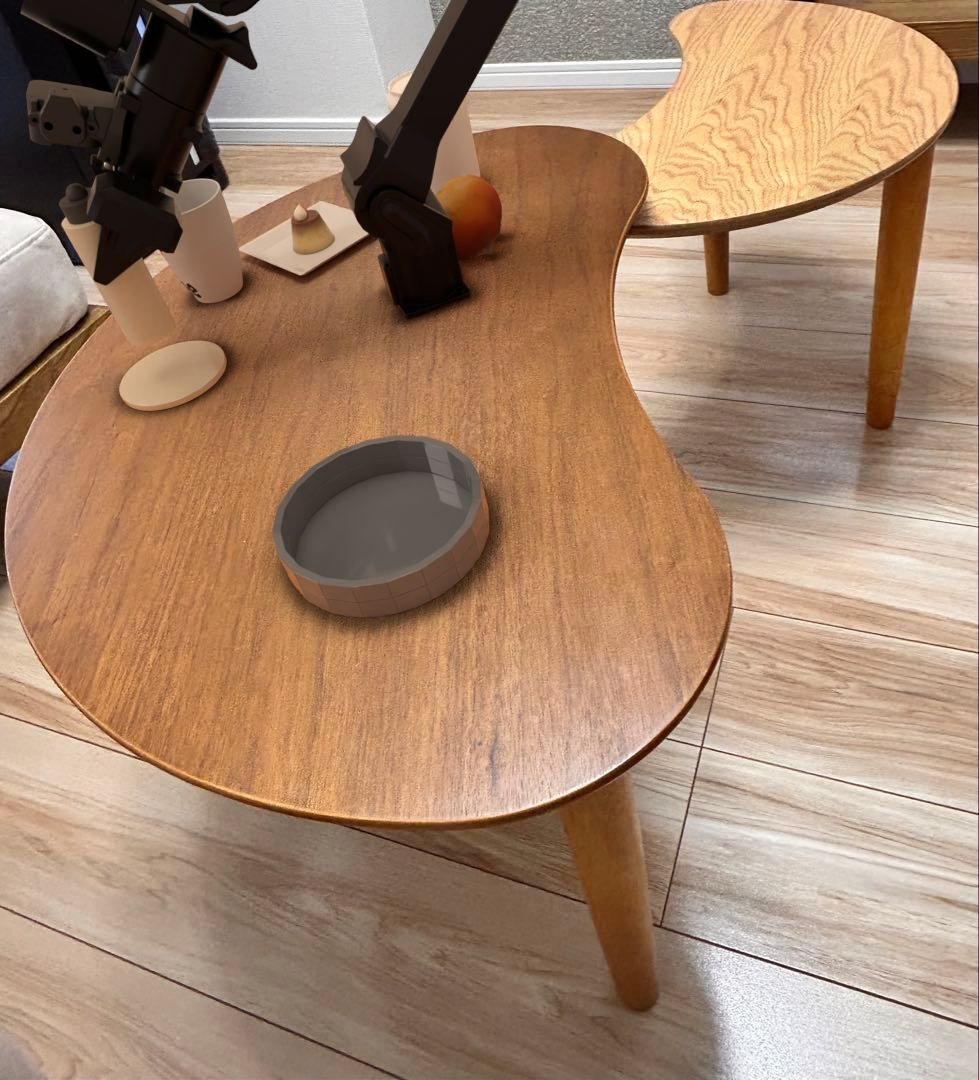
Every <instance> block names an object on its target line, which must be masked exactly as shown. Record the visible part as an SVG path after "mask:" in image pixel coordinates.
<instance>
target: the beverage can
mask: <svg viewBox="0 0 979 1080" xmlns="http://www.w3.org/2000/svg"><path fill="white" fill-rule="evenodd" d="M414 70H415V69H412V70H409V71H406V72H404V73H402V74H400V75H398V76H396V77H394V78H392V79H391V81H390V82H389V83H388V85H387V89H388V94H387V98H386V105H387V108H388V112H389V113H390V112H391V111H392V110H393V109H394V107H395V106H396V104H397V102H398V101H399V99H400V97H401V95H402V93H403V91H404V89H405V87H406V85H407V83H408V81H409V80H410V78H411V76H412V74H413V72H414ZM389 113H388V114H389ZM480 171H481V170H480V167H479V161H478V157H477V150H476V145H475V139H474V135H473V129H472V125H471V119H470V113H469V108H468V102H467V98H466V96H465V98H464V100H463V102H462V104H461V105H460V107H459V109H458V111H457V113H456V114H455V116H454V118H453V120H452V122H451V123H450V125H449V127H448V129H447V131H446V132H445V134H444V136H443V138H442V140H441V142H440V144H439V147H438V152H437V157H436V163H435V168H434V173H433V179H432V184H431V187H430V188H431V190H432V191H433V193H434V194H436V193H437V192H438V191H439V190H440V189H441V188H442V187H443V185H445V184H446V183H448V182H449V181H450V180H452V179H454V178H457V177H459V176H466V175H475V176H478V177H481V172H480ZM481 178H482V177H481Z"/></svg>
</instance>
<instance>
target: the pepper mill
mask: <svg viewBox="0 0 979 1080" xmlns="http://www.w3.org/2000/svg"><path fill="white" fill-rule="evenodd" d="M91 189H92V186H90V187H85V186H84V185H82V183H81V184H80V183H77V182H75V183H74V182H73V183H70V184H69V185H68V186H67V187H66V189H65V196H63V197H62V198H61V199H60V200H59V202H58V206H59V208H60V209H61V211H62V213H63V215H64V219H62V221H61V228H62V229H63V231H64V232H65V234H66V236H67V238H68V239H69V241H70V243H71V245H72V246H73V248H74V250H75V252H76V254H77V255H78V257H79V258H80V260H81V262H82V264H83V266H84V268H85V269H86V270H87V272H88V275H89V276H90V278H91V280H92V281H93V283H94V285H95V287H96V288H97V291H98V292H99V294H100V295H101V297H102V299H103V300H104V303H105V304H106V306H107V307H108V309H109V311H110V313H111V314H112V316H113V318H114V320H115V321H116V323H117V325H118V327H119V328H120V330H121V331H122V334H123V336H124V337H125V339H126V341H127V342H128V344H129V345H130V346H133V347H137V348H138V347H139V348H140V347H148V346H152V345H155V344H157V343H159V342H161V341H163V340H165V339H166V338H167V337H169V336H171V334H172V333H173V332H174V331H175V329H176V327H177V323H176V320H175V318H174V317H173V315H172V313H171V311H170V309H169V307H168V305H167V303H166V301H165V299H164V297H163V296H162V292H161V291H160V289H159V288H158V286H157V283H156V282H155V279H154V278H153V276H152V274H151V272H150V270H149V268H148V266H147V265H146V262H145V260H144V259H143V258H144V257H142V258H141V259H139V260H138V261H137V262H136V263H134V264H133V265H132V266H131V267H129V268H128V269H127V270H126V271H124V272H123V273H122V274H121V275H119V276H118V277H117V278H116V279H115V280H113V281H112V282H111V283H110V284H108V285H106V286H105V285H102V284H99V283H97V282H95V281H94V280H93V275H94V268H95V261H96V254H97V247H98V241H99V234H100V227H101V225H99V224H97V223H94V222H93V221H92V220H91V219H90V218H88V217H87V202H88V192H91Z"/></svg>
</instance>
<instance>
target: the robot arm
mask: <svg viewBox="0 0 979 1080" xmlns="http://www.w3.org/2000/svg"><path fill="white" fill-rule="evenodd" d="M260 1H261V0H23V1H22V5H21V10H20V14H21V15H23V16H24V17H26V18H28V19H30V20H32V21H34V22H35V23H38V24H40V25H42V26H43V27H46V28H47V29H49V30H50V31H54V32H55V33H57V34H58V35H61V36H62V37H65V38H66V39H68V40H70V41H72V42H74V43H76V44H77V45H80V46H81V47H83V48H84V49H87V50H89V51H91V52H93V53H95V54H96V55H98V56H100V57H102V58H104V59H106V57H107V56H108V54H109V52H111V53H112V54H113V55H117V54H118V52H119V51H121V52H123V53H127V52H128V49H129V47H130V46H131V45H130V44H131V43H132V40H133V38H134V35H135V31H136V29H137V26H138V23H139V20H140V17H141V13H142V10H143V9H145V10H146V11H147V12H149V13H150V14H149V17H148V20H147V22H146V25H145V28H144V32H143V34H142V37H141V39H140V42H139V45H138V48H137V51H136V53H135V55H134V59H133V61H132V64H131V67H130V69H129V72H128V75H124V78H118V80H117V81H118V82H117V84H116V86H115V89H114V92H109V91H104V90H98V89H95V88H92V87H89V86H88V87H87V86H83V85H75V84H69V83H63V82H62V83H61V82H56V81H51V80H50V81H49V80H43V79H31V80H30V81H29V82H28V85H27V89H26V93H25V97H26V106H27V123H28V130H29V139H30V140H31V141H32V142H33V143H35V144H38V145H42V146H49V147H50V146H53V145H54V144H56V145H64V146H70V147H78V148H86V149H99V150H98V153H97V154H93V153H92V154H91V155H90V164H89V165H90V169H91V171H92V173H93V175H94V181H93V183H92V186H91V187H92V189H91V192H88V202H87V217H88V218H90V219H91V220H92V221H93V222H94V223H97V224H99V225H101V227H100V234H99V241H98V247H97V254H96V261H95V268H94V275H93V279H92V281H93V280H94V281H95V282H97V283H99V284H102V285H105V286H106V285H108V284H110V283H111V282H112V281H113V280H115V279H116V278H117V277H118V276H119V275H121V274H122V273H123V272H124V271H126V270H127V269H128V268H129V267H131V266H132V265H133V264H134V263H136V262H137V261H138V260H139V259H141V258H144V257H145V256H147V255H148V254H149V253H150V252H153V250H154V249H155V250H158V251H159V250H160V251H162V252H165V253H174V252H175V250H176V247H177V245H178V243H179V240H180V238H181V236H182V233H183V226H182V218H181V213H180V211H179V209H178V207H177V204H176V202H175V200H174V198H172V197H170V196H168V195H166V194H165V189H164V188H166V189H168V190H170V191H172V192H174V193H177V194H178V193H179V190H180V188H181V185H182V183H183V181H184V180H183V175H182V172H183V170H184V167H185V165H186V164H187V163H186V162H187V160H188V158H189V155H190V153H191V151H192V148H193V146H194V145H196V146H199V144H200V142H201V140H202V137H203V134H204V132H203V127H202V123H203V121H204V119H205V116H206V113H207V111H208V109H209V106H210V104H211V102H212V99H213V97H214V94H215V92H216V89H217V88H218V84H219V82H220V80H221V77H222V75H223V72H224V70H225V68H226V65H227V62H228V60H229V59H231V60H233V61H234V62H236V63H238V64H239V65H241V66H243V67H244V68H246V69H249V70H250V71H255V70H257V68H258V61H257V59H256V56H255V54H254V51H253V49H252V46H251V41H250V31H249V28H248V25H247V23H246V22H245V21H243V20H240V21H238V22H236V23H233V24H232V23H231V24H227V23H224V22H223V21H221V20H220V19H218V18H216V17H214V16H212V15H211V14H209V13H208V12H211V13H214V14H217V15H220V16H223V17H227V18H228V17H236V16H239V15H242V14H244V13H247V12H249V11H250V10H251V9H253V7H254V6H256V5H257V3H259V2H260ZM519 2H520V0H450V1H449V3H448V5H447V7H446V8H445V11H444V13H443V14H442V16H441V18H440V20H439V22H438V24H437V25H436V28H435V30H434V32H433V34H432V36H431V38H430V39H429V41H428V42H427V45H426V47H425V49H424V51H423V53H422V55H421V56H420V59H419V60H418V63H417V64H416V66H415V68H414V69H413V70H414V72H413V74H412V76H411V78H410V80H409V81H408V83H407V85H406V87H405V89H404V91H403V93H402V95H401V97H400V99H399V101H398V102H397V104H396V106H395V107H394V109H393V110H392V111H391V112H390V113H388V114H386V116H385V117H383V118H382V119H381V120H380V121H379V122H378V123H376V124H375V123H374V122H373V121H372V120H370V119H369V118H368V117H367V116H366V115H362V116H361V118H360V120H359V122H358V124H357V127H356V130H355V134H354V137H353V139H352V141H351V143H350V144H349V146H348V147H347V149H345V151H343V152H342V153H340V155H339V158H340V160H341V162H342V164H343V169H342V171H341V179H340V181H341V186H342V189H343V192H344V196H345V198H346V200H347V202H348V204H349V206H350V210H352V211H353V213H354V215H355V218H356V220H357V222H358V223H359V225H360V226H361V227H362V229H363V230H364V231H366V232H367V233H368V234H370V236H371V237H374V238H377V239H378V242H379V246H380V249H381V253H378V255H377V257H376V258H377V262H378V265H379V268H380V272H381V275H382V279H383V282H384V285H385V289H386V293H387V294H388V296H389V298H390V300H391V302H392V304H393V305H394V306H396V307H399V309H400V311H401V312H402V314H403V316H404V317H405V318H406V319H412V318H414V317H417V316H421V315H422V314H426V313H429V312H432V311H435V310H437V309H440V308H443V307H446V306H449V305H451V304H455V303H458V302H460V301H462V300H466V299H468V298H470V297H471V295H472V294H471V290H470V288H469V287H468V286H467V284H466V283H465V281H464V277H463V274H462V268H461V265H460V261H459V259H458V255H457V250H456V246H455V241H454V237H453V232H452V226H453V222H452V220H451V219H450V217H449V216H448V214H447V213H446V211H445V210H444V208H443V207H442V205H441V204H440V202H439V200H438V199H437V197H436V196H435V194H434V193H433V191H432V190H431V188H430V187H431V184H432V179H433V173H434V168H435V163H436V157H437V152H438V147H439V144H440V142H441V140H442V138H443V136H444V134H445V132H446V131H447V129H448V127H449V125H450V123H451V122H452V120H453V118H454V116H455V114H456V113H457V111H458V109H459V107H460V105H461V104H462V102H463V100H464V98H465V97H466V96H467V95H468V93H469V91H470V89H471V87H472V86H473V84H474V82H475V81H476V78H477V77H478V75H479V73H480V71H481V70H482V68H483V66H484V64H485V63H486V61H487V59H488V57H489V55H490V54H491V52H492V50H493V48H494V46H495V44H496V43H497V41H498V39H499V37H500V36H501V34H502V32H503V30H504V28H505V26H506V25H507V23H508V21H509V19H510V18H511V16H512V14H513V12H514V10H515V8H516V7H517V5H518V3H519ZM190 4H191V5H190ZM194 4H198V5H200V6H201V7H203V8H204V9H206V10H207V11H208V12H207V11H204V10H203V9H201V8H199V7H198V6H196V5H194ZM175 5H177V6H178V5H189V7H188V8H187V10H186V12H183V11H182V10H179V9H177V8H176V7H173V6H175ZM160 251H159V252H160ZM94 281H93V282H94Z"/></svg>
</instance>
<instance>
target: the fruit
mask: <svg viewBox="0 0 979 1080" xmlns="http://www.w3.org/2000/svg"><path fill="white" fill-rule="evenodd" d="M435 196H436V197H437V199H438V200H439V202H440V204H441V205H442V207H443V208H444V210H445V211H446V213H447V214H448V216H449V217H450V219H451V220H452V222H453V226H452V232H453V237H454V241H455V246H456V250H457V255H458V259H459V262H461V261H469V260H473V259H475V258H478V257H480V256H485V255H491V256H493V247H494V244H495V242H496V239H497V237H500V236H501V237H504V238H505V237H507V235H506V234H504V233H501V231H502V230H501V229H502V218H503V206H502V201H501V199H500V196H499V194H498V192H497V190H496V188H495V187H494V186H493V185H492V184H491V183H490V182H488V181H487V180H485V179H484V178H483V177H478V176H475V175H466V176H459V177H457V178H454V179H452V180H450V181H449V182H448V183H446V184H445V185H443V187H442V188H441V189H440V190H439V191H438V192H437V193H436V194H435Z"/></svg>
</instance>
